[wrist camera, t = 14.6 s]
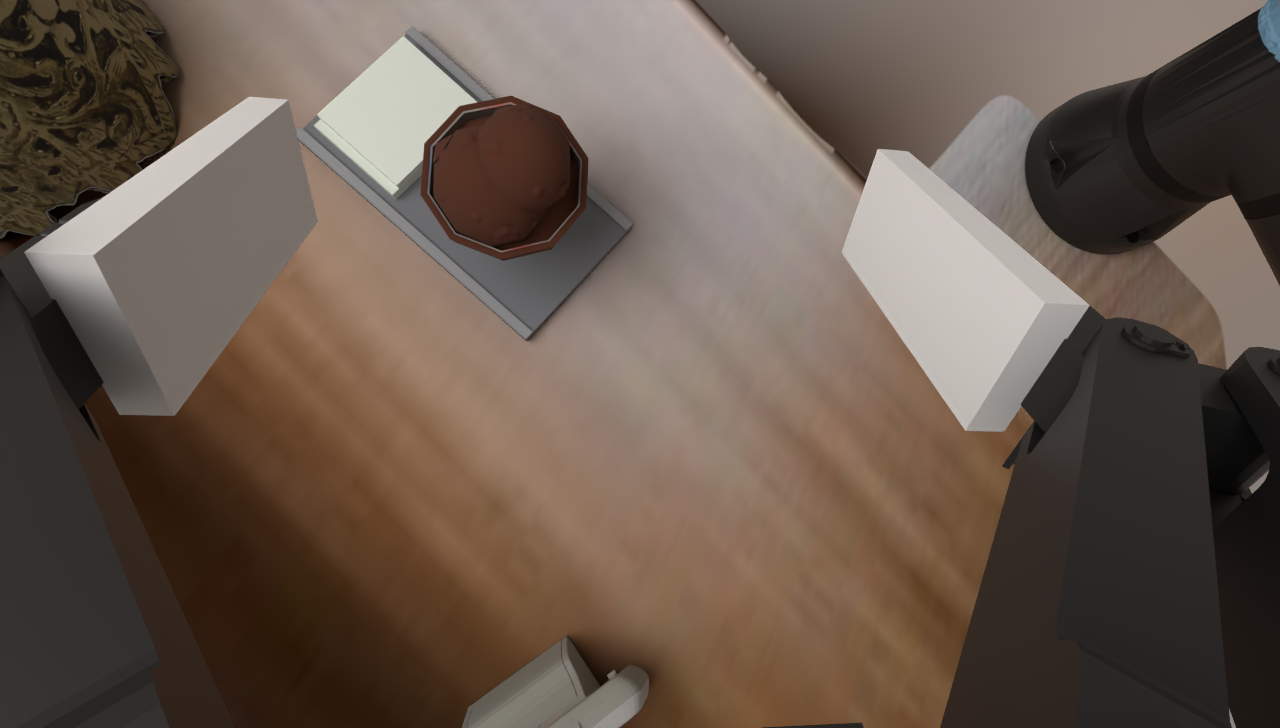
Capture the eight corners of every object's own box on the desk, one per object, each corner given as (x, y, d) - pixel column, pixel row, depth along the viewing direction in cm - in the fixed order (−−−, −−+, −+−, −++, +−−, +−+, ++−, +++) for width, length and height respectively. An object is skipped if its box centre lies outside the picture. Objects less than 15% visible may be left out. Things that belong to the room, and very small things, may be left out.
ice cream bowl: (533, 135, 50) (523, 12, 35) (608, 247, 50) (629, 171, 35) (420, 199, 48) (359, 98, 33) (497, 316, 48) (470, 266, 33)
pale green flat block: (483, 114, 50) (481, 103, 48) (395, 199, 48) (390, 191, 46) (409, 48, 49) (404, 35, 48) (318, 131, 48) (310, 120, 46)
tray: (631, 227, 51) (633, 223, 50) (526, 341, 49) (525, 339, 48) (415, 34, 50) (412, 25, 49) (299, 140, 48) (293, 134, 47)
